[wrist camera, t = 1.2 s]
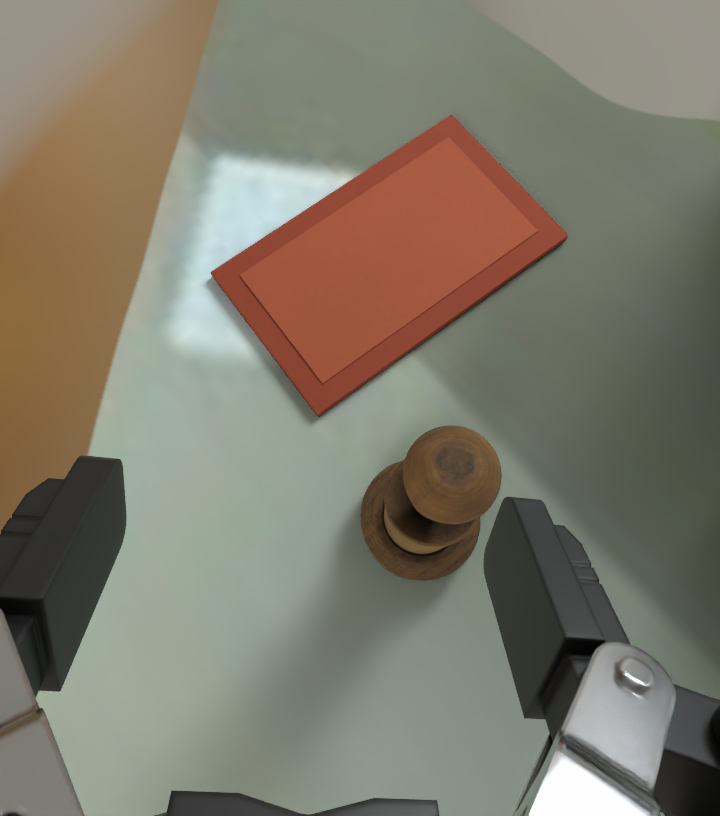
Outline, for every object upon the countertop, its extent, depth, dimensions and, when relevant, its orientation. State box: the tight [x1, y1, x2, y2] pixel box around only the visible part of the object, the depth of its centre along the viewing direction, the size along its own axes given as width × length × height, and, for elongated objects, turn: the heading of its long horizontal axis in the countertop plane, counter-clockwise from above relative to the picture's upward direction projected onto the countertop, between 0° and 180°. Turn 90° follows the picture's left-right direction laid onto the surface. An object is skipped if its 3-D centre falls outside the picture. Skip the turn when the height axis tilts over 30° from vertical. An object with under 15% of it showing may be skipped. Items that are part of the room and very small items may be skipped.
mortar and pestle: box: [361, 426, 501, 581], centre depth 26 cm, size 7×6×18 cm
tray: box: [211, 115, 568, 417], centre depth 39 cm, size 20×12×1 cm, turn 127°
